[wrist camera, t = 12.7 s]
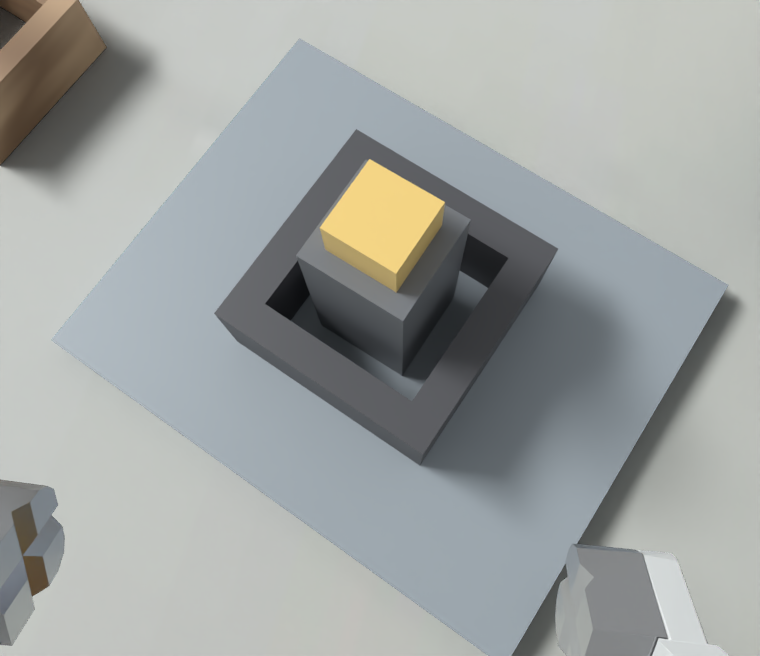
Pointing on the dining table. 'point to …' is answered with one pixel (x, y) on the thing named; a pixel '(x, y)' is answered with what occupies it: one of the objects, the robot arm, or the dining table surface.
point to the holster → (41, 63)
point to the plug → (384, 264)
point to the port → (429, 367)
